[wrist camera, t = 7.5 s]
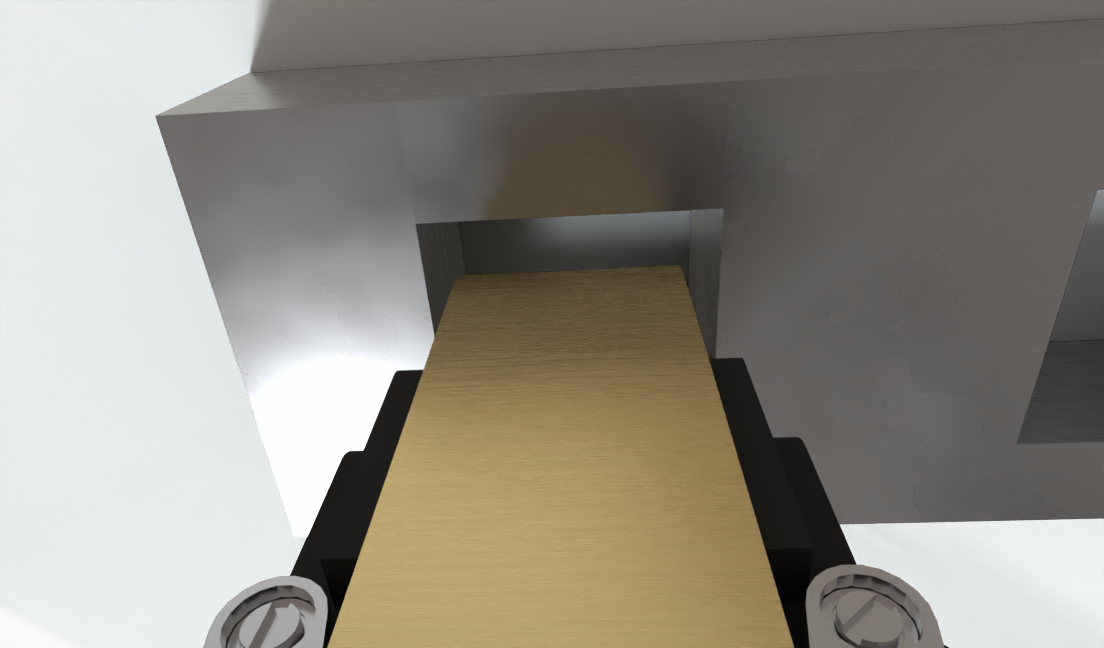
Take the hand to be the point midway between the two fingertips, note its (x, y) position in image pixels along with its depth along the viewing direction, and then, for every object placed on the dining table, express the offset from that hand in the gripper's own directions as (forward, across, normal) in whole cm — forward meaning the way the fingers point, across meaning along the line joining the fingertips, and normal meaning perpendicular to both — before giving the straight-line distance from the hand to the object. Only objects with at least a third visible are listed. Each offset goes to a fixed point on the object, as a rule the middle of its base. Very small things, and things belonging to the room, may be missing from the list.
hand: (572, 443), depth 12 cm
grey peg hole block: (+7, -6, 0) cm, 9 cm away
